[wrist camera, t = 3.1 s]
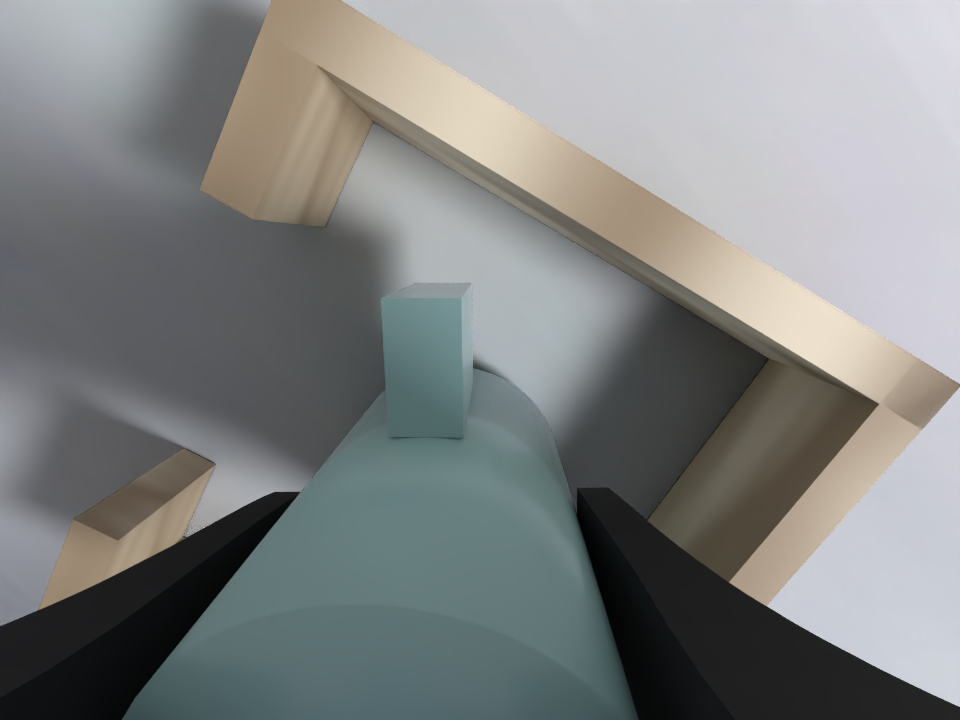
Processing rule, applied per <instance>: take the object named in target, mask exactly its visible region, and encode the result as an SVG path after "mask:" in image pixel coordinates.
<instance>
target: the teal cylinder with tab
mask: <svg viewBox="0 0 960 720" xmlns="http://www.w3.org/2000/svg"><path fill="white" fill-rule="evenodd" d="M380 302H381V319H382V336H383V354H384V371H385V389H386V390H385V391H384V392H382V393H381V394H380V395H379V396H378V397H377V398H376V400H375V401H374V402H373V403H372V404H371V405H370V407H369V408H368V409H367V410H366V412H365V413H364V414H363V415H362V417H361V418H360V419H359V420H358V421H357V423H356V424H355V425H354V426H353V428H352V429H351V430H350V431H349V433H348V434H347V435H346V436H345V438H344V439H343V440H342V441H341V443H340V444H339V445H338V446H337V448H336V449H335V450H334V451H333V453H332V454H331V455H330V456H329V458H328V459H327V460H326V461H325V463H324V464H323V465H322V466H321V467H320V469H319V470H318V471H317V472H316V474H315V475H314V476H313V477H312V479H311V480H310V481H309V482H308V484H307V485H306V486H305V487H304V489H303V490H302V491H301V492H300V494H299V495H298V496H297V497H296V499H295V500H294V501H293V502H292V504H291V505H290V506H289V507H288V509H287V510H286V511H285V512H284V514H283V515H282V516H281V517H280V518H279V520H278V521H277V522H276V523H275V525H274V526H273V527H272V528H271V530H270V531H269V532H268V533H267V535H266V536H265V537H264V538H263V540H262V541H261V542H260V543H259V545H258V546H257V547H256V548H255V550H254V551H253V552H252V553H251V555H250V556H249V557H248V558H247V560H246V561H245V562H244V563H243V564H242V566H241V567H240V568H239V569H238V571H237V572H236V573H235V574H234V576H233V577H232V578H231V579H230V581H229V582H228V583H227V584H226V586H225V587H224V588H223V589H222V591H221V592H220V593H219V594H218V596H217V597H216V598H215V599H214V601H213V602H212V603H211V604H210V606H209V607H208V608H207V609H206V610H205V612H204V613H203V614H202V615H201V617H200V618H199V619H198V620H197V622H196V623H195V624H194V625H193V627H192V628H191V629H190V630H189V632H188V633H187V634H186V635H185V637H184V638H183V639H182V640H181V642H180V643H179V644H178V645H177V647H176V648H175V649H174V650H173V652H172V653H171V654H170V655H169V657H168V658H167V659H166V660H165V661H164V663H163V664H162V665H161V666H160V668H159V669H158V670H157V671H156V673H155V674H154V675H153V676H152V678H151V679H150V680H149V681H148V683H147V684H146V685H145V686H144V688H143V689H142V690H141V691H140V693H139V694H138V695H137V696H136V698H135V699H134V701H133V702H132V704H131V706H130V707H129V709H128V711H127V712H126V714H125V716H124V717H123V719H122V720H639V719H638V716H637V712H636V709H635V706H634V702H633V699H632V696H631V692H630V689H629V686H628V682H627V679H626V676H625V672H624V669H623V666H622V662H621V659H620V656H619V653H618V649H617V646H616V643H615V639H614V636H613V633H612V629H611V626H610V623H609V619H608V616H607V613H606V609H605V606H604V603H603V599H602V596H601V593H600V590H599V586H598V583H597V580H596V576H595V573H594V570H593V566H592V563H591V560H590V556H589V553H588V550H587V546H586V543H585V540H584V537H583V533H582V530H581V527H580V523H579V520H578V517H577V513H576V510H575V507H574V503H573V500H572V497H571V493H570V490H569V487H568V483H567V480H566V477H565V474H564V470H563V467H562V464H561V460H560V457H559V454H558V450H557V447H556V444H555V440H554V437H553V434H552V431H551V429H550V427H549V425H548V423H547V421H546V419H545V417H544V416H543V414H542V413H541V411H540V410H539V408H538V407H537V406H536V405H535V403H534V402H533V401H532V400H531V399H530V398H529V397H528V396H527V395H526V394H525V393H523V392H522V391H521V390H520V389H519V388H517V387H516V386H514V385H513V384H511V383H510V382H508V381H507V380H505V379H502V378H500V377H498V376H496V375H494V374H491V373H488V372H485V371H482V370H478V369H473V323H472V283H415V284H412V285H410V286H407V287H405V288H403V289H400V290H398V291H396V292H393V293H391V294H389V295H386V296H384V297H382V298H380Z"/></svg>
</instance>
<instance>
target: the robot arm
mask: <svg viewBox="0 0 960 720" xmlns="http://www.w3.org/2000/svg"><path fill="white" fill-rule="evenodd" d="M299 494H300V492H274V493H271V494H269V495H266V496H264V497H262V498H260V499H258V500H256V501H254V502H252V503H250V504H248V505H246V506H244V507H242V508H240V509H238V510H236V511H235V512H233V513H231V514H229V515H227V516H225V517H224V518H222V519H220V520H218V521H216V522H214V523H213V524H211V525H209V526H207V527H205V528H203V529H202V530H200V531H198V532H196V533H194V534H193V535H191V536H189V537H187V538H185V539H183V540H182V541H180V542H178V543H176V544H174V545H172V546H170V547H168V548H167V549H165V550H163V551H161V552H159V553H157V554H155V555H153V556H151V557H149V558H147V559H145V560H143V561H141V562H139V563H137V564H135V565H133V566H131V567H129V568H128V569H126V570H124V571H122V572H120V573H118V574H116V575H114V576H112V577H110V578H108V579H106V580H104V581H102V582H100V583H98V584H95V585H93V586H91V587H89V588H87V589H85V590H83V591H81V592H78V593H76V594H74V595H72V596H70V597H67V598H65V599H63V600H61V601H58V602H56V603H54V604H52V605H49V606H47V607H45V608H42V609H40V610H38V611H36V612H33V613H31V614H29V615H26V616H24V617H22V618H19V619H17V620H15V621H12V622H10V623H7V624H5V625H2V626H0V720H122V719H123V717H124V716H125V714H126V712H127V711H128V709H129V707H130V706H131V704H132V702H133V701H134V699H135V698H136V696H137V695H138V694H139V693H140V691H141V690H142V689H143V688H144V686H145V685H146V684H147V683H148V681H149V680H150V679H151V678H152V676H153V675H154V674H155V673H156V671H157V670H158V669H159V668H160V666H161V665H162V664H163V663H164V661H165V660H166V659H167V658H168V657H169V655H170V654H171V653H172V652H173V650H174V649H175V648H176V647H177V645H178V644H179V643H180V642H181V640H182V639H183V638H184V637H185V635H186V634H187V633H188V632H189V630H190V629H191V628H192V627H193V625H194V624H195V623H196V622H197V620H198V619H199V618H200V617H201V615H202V614H203V613H204V612H205V610H206V609H207V608H208V607H209V606H210V604H211V603H212V602H213V601H214V599H215V598H216V597H217V596H218V594H219V593H220V592H221V591H222V589H223V588H224V587H225V586H226V584H227V583H228V582H229V581H230V579H231V578H232V577H233V576H234V574H235V573H236V572H237V571H238V569H239V568H240V567H241V566H242V564H243V563H244V562H245V561H246V560H247V558H248V557H249V556H250V555H251V553H252V552H253V551H254V550H255V548H256V547H257V546H258V545H259V543H260V542H261V541H262V540H263V538H264V537H265V536H266V535H267V533H268V532H269V531H270V530H271V528H272V527H273V526H274V525H275V523H276V522H277V521H278V520H279V518H280V517H281V516H282V515H283V514H284V512H285V511H286V510H287V509H288V507H289V506H290V505H291V504H292V502H293V501H294V500H295V499H296V497H297V496H298V495H299ZM577 517H578V520H579V523H580V527H581V530H582V533H583V537H584V540H585V543H586V546H587V550H588V553H589V556H590V560H591V563H592V566H593V570H594V573H595V576H596V580H597V583H598V586H599V590H600V593H601V596H602V599H603V603H604V606H605V609H606V613H607V616H608V619H609V623H610V626H611V629H612V633H613V636H614V639H615V643H616V646H617V649H618V653H619V656H620V659H621V662H622V666H623V669H624V672H625V676H626V679H627V682H628V686H629V689H630V692H631V696H632V699H633V702H634V706H635V709H636V712H637V716H638V719H639V720H960V707H958V706H956V705H954V704H952V703H949V702H947V701H945V700H943V699H941V698H938V697H936V696H934V695H932V694H930V693H928V692H925V691H923V690H921V689H919V688H917V687H915V686H913V685H911V684H909V683H907V682H905V681H903V680H901V679H899V678H897V677H895V676H893V675H891V674H889V673H886V672H884V671H882V670H880V669H878V668H876V667H875V666H873V665H871V664H869V663H867V662H865V661H863V660H861V659H859V658H858V657H856V656H854V655H852V654H850V653H848V652H846V651H844V650H842V649H840V648H839V647H837V646H835V645H833V644H831V643H829V642H827V641H825V640H823V639H822V638H820V637H818V636H816V635H814V634H813V633H811V632H809V631H807V630H806V629H804V628H802V627H800V626H798V625H797V624H795V623H793V622H791V621H790V620H788V619H786V618H785V617H783V616H782V615H780V614H778V613H777V612H775V611H773V610H772V609H770V608H769V607H767V606H765V605H764V604H762V603H760V602H759V601H757V600H755V599H754V598H752V597H751V596H749V595H747V594H746V593H744V592H743V591H741V590H740V589H738V588H737V587H735V586H734V585H732V584H731V583H729V582H728V581H726V580H725V579H723V578H722V577H720V576H719V575H718V574H716V573H715V572H713V571H712V570H711V569H709V568H708V567H706V566H705V565H704V564H702V563H701V562H699V561H698V560H697V559H695V558H694V557H693V556H691V555H690V554H689V553H687V552H686V551H685V550H683V549H682V548H681V547H679V546H678V545H677V544H676V543H674V542H673V541H672V540H670V539H669V538H668V537H667V536H665V535H664V534H663V533H662V532H660V531H659V530H658V529H657V528H656V527H654V526H653V525H652V524H651V523H649V522H648V521H647V520H646V519H645V518H644V517H642V516H641V515H640V514H639V513H638V512H636V511H635V510H634V509H633V508H632V507H631V506H629V505H628V504H627V503H626V502H625V501H624V500H622V499H621V498H620V497H619V496H618V495H617V494H615V493H614V492H613V491H612V490H610V489H609V488H577Z"/></svg>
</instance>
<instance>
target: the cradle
mask: <svg viewBox="0 0 960 720" xmlns="http://www.w3.org/2000/svg"><path fill="white" fill-rule="evenodd" d="M373 122H374V123H376V124H378V125H379V126H381V127H383V128H384V129H386V130H388V131H389V132H391V133H393V134H394V135H396V136H398V137H399V138H401V139H403V140H405V141H406V142H408V143H410V144H411V145H413V146H415V147H416V148H418V149H420V150H421V151H423V152H425V153H426V154H428V155H430V156H431V157H433V158H435V159H436V160H438V161H440V162H441V163H443V164H445V165H446V166H448V167H450V168H451V169H453V170H455V171H456V172H458V173H460V174H461V175H463V176H465V177H466V178H468V179H470V180H471V181H473V182H475V183H476V184H478V185H480V186H481V187H483V188H485V189H486V190H488V191H490V192H491V193H493V194H495V195H496V196H498V197H500V198H501V199H503V200H505V201H507V202H508V203H510V204H512V205H513V206H515V207H517V208H518V209H520V210H522V211H523V212H525V213H527V214H528V215H530V216H532V217H533V218H535V219H537V220H538V221H540V222H542V223H543V224H545V225H547V226H548V227H550V228H552V229H553V230H555V231H557V232H558V233H560V234H562V235H563V236H565V237H567V238H568V239H570V240H572V241H573V242H575V243H577V244H578V245H580V246H582V247H583V248H585V249H587V250H588V251H590V252H592V253H593V254H595V255H597V256H598V257H600V258H602V259H603V260H605V261H607V262H608V263H610V264H612V265H614V266H615V267H617V268H619V269H620V270H622V271H624V272H625V273H627V274H629V275H630V276H632V277H634V278H635V279H637V280H639V281H640V282H642V283H644V284H645V285H647V286H649V287H650V288H652V289H654V290H655V291H657V292H659V293H660V294H662V295H664V296H665V297H667V298H669V299H670V300H672V301H674V302H675V303H677V304H679V305H680V306H682V307H684V308H685V309H687V310H689V311H690V312H692V313H694V314H695V315H697V316H699V317H700V318H702V319H704V320H705V321H707V322H709V323H710V324H712V325H714V326H716V327H717V328H719V329H721V330H722V331H724V332H726V333H727V334H729V335H731V336H732V337H734V338H736V339H737V340H739V341H741V342H742V343H744V344H746V345H747V346H749V347H751V348H752V349H754V350H756V351H757V352H759V353H761V354H762V355H764V356H766V357H767V358H769V360H768V361H767V363H766V364H765V365H764V367H763V368H762V369H761V371H760V372H759V373H758V375H757V376H756V377H755V378H754V380H753V381H752V382H751V384H750V385H749V386H748V388H747V389H746V390H745V392H744V393H743V394H742V396H741V397H740V398H739V400H738V401H737V402H736V404H735V405H734V406H733V408H732V409H731V410H730V412H729V413H728V414H727V416H726V417H725V418H724V419H723V421H722V422H721V423H720V425H719V426H718V427H717V429H716V430H715V431H714V433H713V434H712V435H711V437H710V438H709V439H708V441H707V442H706V443H705V445H704V446H703V447H702V449H701V450H700V451H699V453H698V454H697V455H696V456H695V458H694V459H693V460H692V462H691V463H690V464H689V466H688V467H687V468H686V470H685V471H684V472H683V474H682V475H681V476H680V478H679V479H678V480H677V482H676V483H675V484H674V486H673V487H672V488H671V490H670V491H669V492H668V494H667V495H666V496H665V497H664V499H663V500H662V501H661V503H660V504H659V505H658V507H657V508H656V509H655V511H654V512H653V513H652V515H651V516H650V517H649V519H648V520H647V521H648V522H649V523H651V524H652V525H653V526H654V527H656V528H657V529H658V530H659V531H660V532H662V533H663V534H664V535H665V536H667V537H668V538H669V539H670V540H672V541H673V542H674V543H676V544H677V545H678V546H679V547H681V548H682V549H683V550H685V551H686V552H687V553H689V554H690V555H691V556H693V557H694V558H695V559H697V560H698V561H699V562H701V563H702V564H704V565H705V566H706V567H708V568H709V569H711V570H712V571H713V572H715V573H716V574H718V575H719V576H720V577H722V578H723V579H725V580H726V581H728V582H729V583H731V584H732V585H734V586H735V587H737V588H738V589H740V590H741V591H743V592H744V593H746V594H747V595H749V596H751V597H752V598H754V599H755V600H757V601H759V602H760V603H762V604H764V605H765V606H767V605H768V604H769V602H770V601H771V600H772V599H773V598H774V597H775V596H776V594H777V593H778V592H779V591H780V590H781V589H782V588H783V587H784V585H785V584H786V583H787V582H788V581H789V580H790V579H791V577H792V576H793V575H794V574H795V573H796V572H797V571H798V570H799V568H800V567H801V566H802V565H803V564H804V563H805V562H806V560H807V559H808V558H809V557H810V556H811V555H812V554H813V553H814V551H815V550H816V549H817V548H818V547H819V546H820V545H821V544H822V542H823V541H824V540H825V539H826V538H827V537H828V536H829V534H830V533H831V532H832V531H833V530H834V529H835V528H836V527H837V525H838V524H839V523H840V522H841V521H842V520H843V519H844V517H845V516H846V515H847V514H848V513H849V512H850V511H851V510H852V508H853V507H854V506H855V505H856V504H857V503H858V502H859V500H860V499H861V498H862V497H863V496H864V495H865V494H866V493H867V491H868V490H869V489H870V488H871V487H872V486H873V485H874V483H875V482H876V481H877V480H878V479H879V478H880V477H881V476H882V474H883V473H884V472H885V471H886V470H887V469H888V468H889V466H890V465H891V464H892V463H893V462H894V461H895V460H896V459H897V457H898V456H899V455H900V454H901V453H902V452H903V451H904V450H905V448H906V447H907V446H908V445H909V444H910V443H911V442H912V440H913V439H914V438H915V437H916V436H917V435H918V434H919V433H920V431H921V430H922V429H923V428H924V427H925V426H926V425H927V423H928V422H929V421H930V420H931V419H932V418H933V417H934V416H935V414H936V413H937V412H938V411H939V410H940V409H941V408H942V406H943V405H944V404H945V403H946V402H947V401H948V400H949V399H950V397H951V396H952V395H953V394H954V393H955V392H956V391H957V389H958V388H959V387H960V384H959V383H957V382H955V381H954V380H952V379H950V378H949V377H947V376H946V375H944V374H942V373H941V372H939V371H938V370H936V369H934V368H933V367H931V366H930V365H928V364H926V363H925V362H923V361H921V360H920V359H918V358H917V357H915V356H913V355H912V354H910V353H909V352H907V351H905V350H904V349H902V348H901V347H899V346H897V345H896V344H894V343H892V342H891V341H889V340H888V339H886V338H884V337H883V336H881V335H880V334H878V333H876V332H875V331H873V330H872V329H870V328H868V327H867V326H865V325H863V324H862V323H860V322H859V321H857V320H855V319H854V318H852V317H851V316H849V315H847V314H846V313H844V312H842V311H841V310H839V309H838V308H836V307H834V306H833V305H831V304H830V303H828V302H826V301H825V300H823V299H822V298H820V297H818V296H817V295H815V294H813V293H812V292H810V291H809V290H807V289H805V288H804V287H802V286H801V285H799V284H797V283H796V282H794V281H793V280H791V279H789V278H788V277H786V276H784V275H783V274H781V273H780V272H778V271H776V270H775V269H773V268H772V267H770V266H768V265H767V264H765V263H764V262H762V261H760V260H759V259H757V258H755V257H754V256H752V255H751V254H749V253H747V252H746V251H744V250H743V249H741V248H739V247H738V246H736V245H735V244H733V243H731V242H730V241H728V240H726V239H725V238H723V237H722V236H720V235H718V234H717V233H715V232H714V231H712V230H710V229H709V228H707V227H706V226H704V225H702V224H701V223H699V222H697V221H696V220H694V219H693V218H691V217H689V216H688V215H686V214H685V213H683V212H681V211H680V210H678V209H676V208H675V207H673V206H672V205H670V204H668V203H667V202H665V201H664V200H662V199H660V198H659V197H657V196H656V195H654V194H652V193H651V192H649V191H647V190H646V189H644V188H643V187H641V186H639V185H638V184H636V183H635V182H633V181H631V180H630V179H628V178H627V177H625V176H623V175H622V174H620V173H618V172H617V171H615V170H614V169H612V168H610V167H609V166H607V165H606V164H604V163H602V162H601V161H599V160H598V159H596V158H594V157H593V156H591V155H589V154H588V153H586V152H585V151H583V150H581V149H580V148H578V147H577V146H575V145H573V144H572V143H570V142H569V141H567V140H565V139H564V138H562V137H560V136H559V135H557V134H556V133H554V132H552V131H551V130H549V129H548V128H546V127H544V126H543V125H541V124H539V123H538V122H536V121H535V120H533V119H531V118H530V117H528V116H527V115H525V114H523V113H522V112H520V111H519V110H517V109H515V108H514V107H512V106H510V105H509V104H507V103H506V102H504V101H502V100H501V99H499V98H498V97H496V96H494V95H493V94H491V93H490V92H488V91H486V90H485V89H483V88H481V87H480V86H478V85H477V84H475V83H473V82H472V81H470V80H469V79H467V78H465V77H464V76H462V75H461V74H459V73H457V72H456V71H454V70H452V69H451V68H449V67H448V66H446V65H444V64H443V63H441V62H440V61H438V60H436V59H435V58H433V57H432V56H430V55H428V54H427V53H425V52H423V51H422V50H420V49H419V48H417V47H415V46H414V45H412V44H411V43H409V42H407V41H406V40H404V39H402V38H401V37H399V36H398V35H396V34H394V33H393V32H391V31H390V30H388V29H386V28H385V27H383V26H382V25H380V24H378V23H377V22H375V21H373V20H372V19H370V18H369V17H367V16H365V15H364V14H362V13H361V12H359V11H357V10H356V9H354V8H353V7H351V6H349V5H348V4H346V3H344V2H343V1H341V0H272V1H271V4H270V6H269V9H268V12H267V14H266V17H265V19H264V22H263V25H262V27H261V30H260V32H259V35H258V38H257V40H256V43H255V46H254V48H253V51H252V53H251V56H250V59H249V61H248V64H247V66H246V69H245V72H244V74H243V77H242V79H241V82H240V85H239V87H238V90H237V93H236V95H235V98H234V100H233V103H232V106H231V108H230V111H229V113H228V116H227V119H226V121H225V124H224V126H223V129H222V132H221V134H220V137H219V140H218V142H217V145H216V147H215V150H214V153H213V155H212V158H211V160H210V163H209V166H208V168H207V171H206V174H205V176H204V179H203V181H202V184H201V187H200V189H199V190H201V191H202V192H204V193H206V194H208V195H210V196H211V197H213V198H215V199H217V200H218V201H220V202H222V203H224V204H226V205H227V206H229V207H231V208H233V209H235V210H236V211H238V212H240V213H242V214H243V215H245V216H247V217H249V218H251V219H253V220H262V221H271V222H281V223H290V224H299V225H308V226H317V227H325V226H326V224H327V221H328V219H329V217H330V215H331V213H332V210H333V208H334V206H335V204H336V202H337V200H338V197H339V195H340V193H341V191H342V189H343V187H344V184H345V182H346V180H347V178H348V176H349V173H350V171H351V169H352V167H353V165H354V163H355V160H356V158H357V156H358V154H359V152H360V149H361V147H362V145H363V143H364V141H365V139H366V136H367V134H368V132H369V130H370V128H371V126H372V123H373ZM215 465H216V464H214V463H212V462H210V461H208V460H206V459H204V458H202V457H200V456H198V455H196V454H194V453H192V452H190V451H188V450H186V449H184V448H183V449H181V450H180V451H178V452H177V453H175V454H174V455H172V456H170V457H169V458H167V459H166V460H164V461H163V462H161V463H160V464H158V465H157V466H155V467H153V468H152V469H150V470H149V471H147V472H146V473H144V474H143V475H141V476H139V477H138V478H136V479H135V480H133V481H132V482H130V483H129V484H127V485H126V486H124V487H122V488H121V489H119V490H118V491H116V492H115V493H113V494H112V495H110V496H108V497H107V498H105V499H104V500H102V501H101V502H99V503H98V504H96V505H95V506H93V507H91V508H90V509H88V510H87V511H85V512H84V513H82V514H81V515H79V516H77V517H76V518H74V519H73V521H72V524H71V526H70V529H69V531H68V534H67V537H66V539H65V542H64V544H63V547H62V550H61V552H60V555H59V557H58V560H57V563H56V565H55V568H54V571H53V573H52V576H51V578H50V581H49V584H48V586H47V589H46V591H45V594H44V597H43V599H42V602H41V605H40V607H39V610H40V609H42V608H45V607H47V606H49V605H52V604H54V603H56V602H58V601H61V600H63V599H65V598H67V597H70V596H72V595H74V594H76V593H78V592H81V591H83V590H85V589H87V588H89V587H91V586H93V585H95V584H98V583H100V582H102V581H104V580H106V579H108V578H110V577H112V576H114V575H116V574H118V573H120V572H122V571H124V570H126V569H128V568H129V567H131V566H133V565H135V564H137V563H139V562H141V561H143V560H145V559H147V558H149V557H151V556H153V555H155V554H157V553H159V552H161V551H163V550H165V549H167V548H168V547H170V546H172V545H174V544H176V543H178V542H180V541H182V540H183V539H185V538H184V537H183V535H184V533H185V531H186V528H187V526H188V524H189V522H190V520H191V518H192V515H193V513H194V511H195V509H196V507H197V504H198V502H199V500H200V498H201V496H202V494H203V491H204V489H205V487H206V485H207V483H208V480H209V478H210V476H211V474H212V472H213V470H214V467H215Z"/></svg>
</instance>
